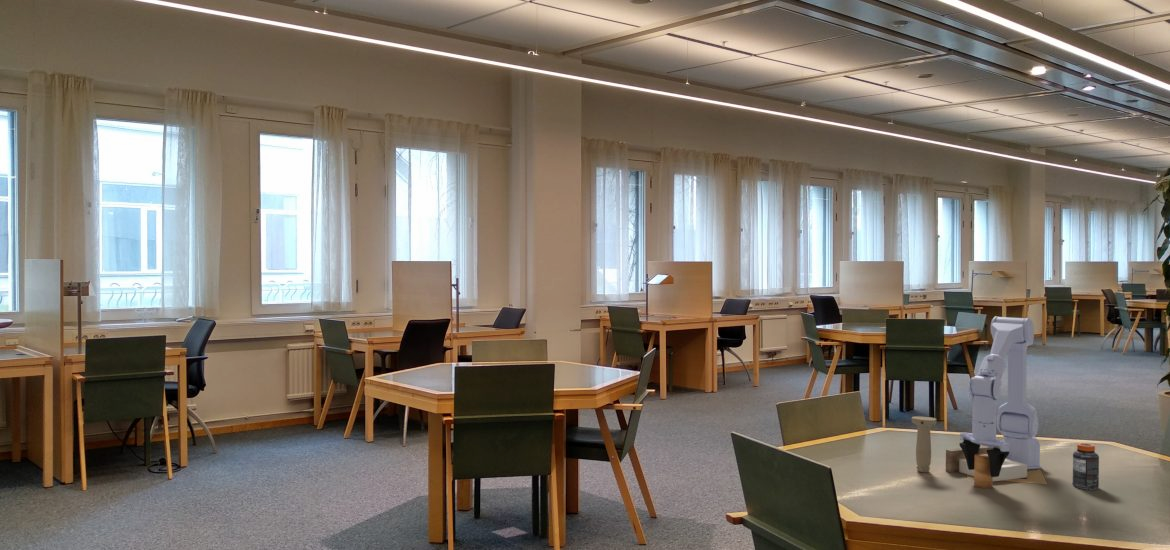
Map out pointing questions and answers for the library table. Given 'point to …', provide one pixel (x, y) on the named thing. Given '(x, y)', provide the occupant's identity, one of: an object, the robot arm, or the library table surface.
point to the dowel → (982, 471)
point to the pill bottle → (1085, 467)
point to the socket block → (1007, 471)
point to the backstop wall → (959, 457)
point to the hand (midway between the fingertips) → (983, 472)
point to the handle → (923, 442)
